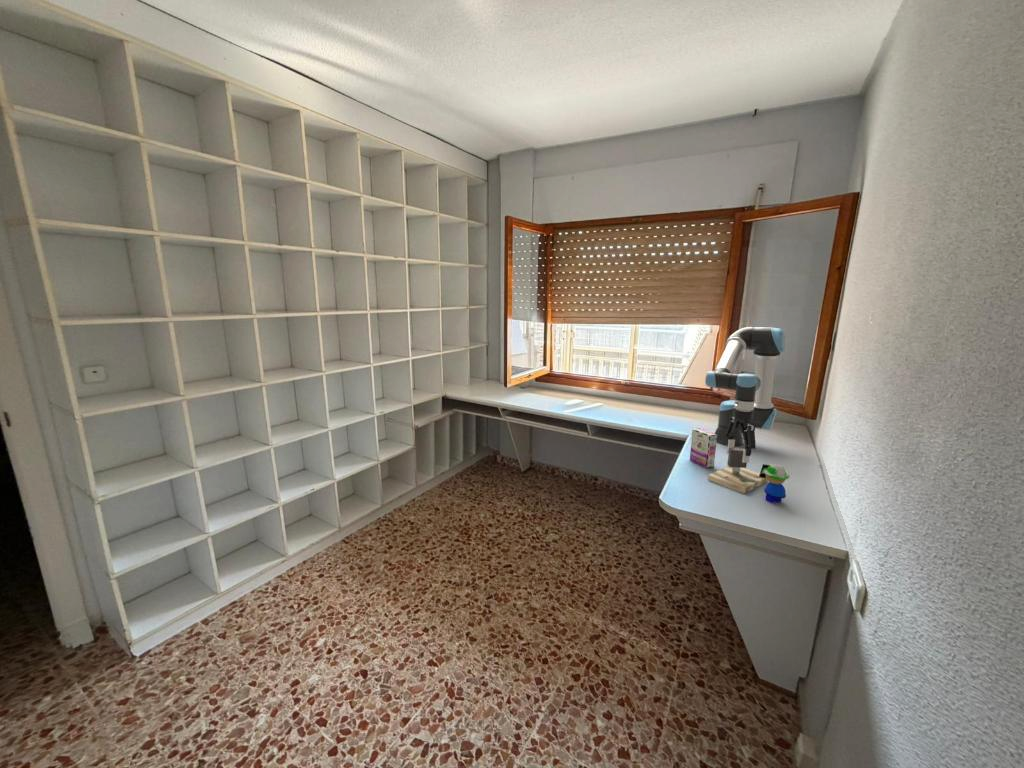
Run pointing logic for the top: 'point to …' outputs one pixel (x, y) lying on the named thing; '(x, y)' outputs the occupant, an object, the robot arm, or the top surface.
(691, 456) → the candy bar box
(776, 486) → the toy
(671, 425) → the top surface
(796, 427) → the top surface
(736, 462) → the peg
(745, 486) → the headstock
